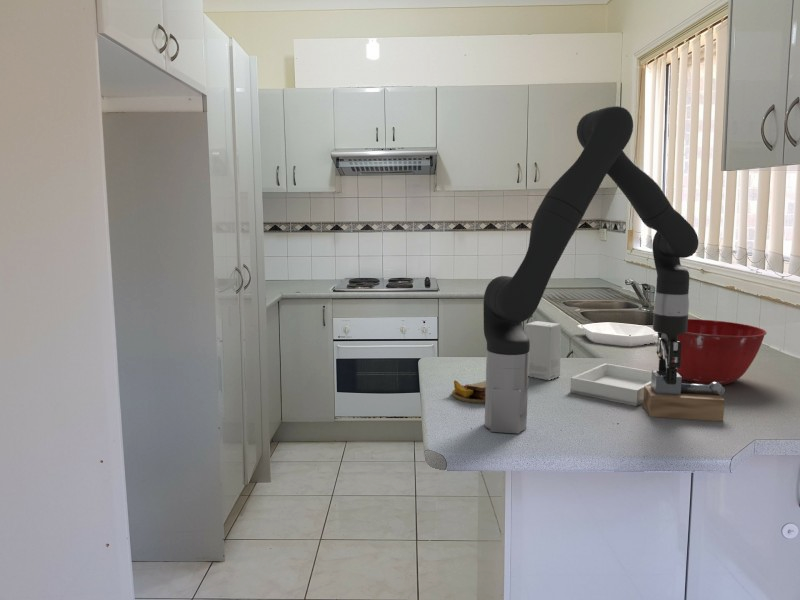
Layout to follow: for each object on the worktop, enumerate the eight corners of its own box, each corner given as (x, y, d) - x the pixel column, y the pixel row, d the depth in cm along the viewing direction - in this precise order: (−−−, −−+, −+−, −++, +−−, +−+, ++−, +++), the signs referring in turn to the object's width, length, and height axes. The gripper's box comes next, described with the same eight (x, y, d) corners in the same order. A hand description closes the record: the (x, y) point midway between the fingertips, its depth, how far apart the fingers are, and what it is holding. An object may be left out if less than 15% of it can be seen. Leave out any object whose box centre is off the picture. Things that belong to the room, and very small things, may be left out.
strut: (727, 398, 152) (729, 379, 151) (655, 394, 155) (656, 375, 154) (720, 391, 157) (722, 373, 157) (650, 387, 160) (652, 370, 159)
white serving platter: (567, 341, 240) (567, 329, 240) (586, 330, 261) (587, 319, 261) (655, 351, 225) (656, 339, 224) (668, 339, 246) (669, 327, 245)
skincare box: (560, 377, 188) (563, 323, 186) (548, 381, 184) (551, 326, 181) (535, 372, 194) (537, 320, 192) (522, 376, 189) (524, 322, 187)
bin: (636, 406, 162) (637, 390, 161) (570, 392, 173) (570, 377, 172) (666, 388, 178) (667, 373, 177) (604, 376, 189) (605, 363, 189)
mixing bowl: (657, 362, 207) (661, 314, 205) (760, 374, 194) (765, 322, 192) (645, 383, 182) (649, 329, 180) (762, 398, 169) (768, 339, 167)
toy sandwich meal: (483, 388, 177) (484, 371, 176) (513, 402, 165) (513, 384, 164) (443, 393, 171) (443, 376, 171) (470, 408, 159) (471, 389, 159)
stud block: (723, 421, 151) (725, 387, 150) (649, 416, 154) (652, 382, 153) (712, 409, 160) (714, 377, 159) (643, 405, 163) (645, 373, 161)
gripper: (695, 317, 146) (690, 388, 149) (680, 307, 160) (676, 372, 163) (660, 316, 148) (656, 386, 150) (648, 306, 162) (644, 371, 164)
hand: (666, 379), depth 156 cm, fingers open, 8 cm apart
